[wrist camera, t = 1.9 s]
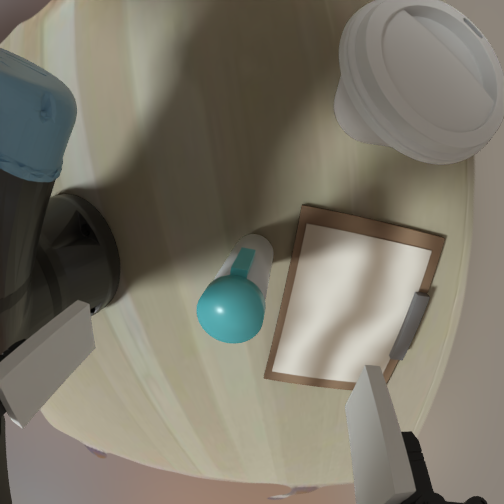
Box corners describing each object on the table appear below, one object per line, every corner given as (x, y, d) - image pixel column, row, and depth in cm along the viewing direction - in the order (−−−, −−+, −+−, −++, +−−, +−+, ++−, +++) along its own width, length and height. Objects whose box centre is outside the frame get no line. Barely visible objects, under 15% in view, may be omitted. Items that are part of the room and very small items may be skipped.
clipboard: (264, 375, 33) (262, 384, 31) (301, 204, 26) (302, 207, 25) (380, 389, 32) (383, 397, 30) (442, 237, 25) (449, 241, 24)
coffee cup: (430, 137, 23) (537, 131, 9) (348, 177, 25) (414, 201, 11) (382, 49, 21) (451, -27, 7) (296, 86, 23) (302, 7, 9)
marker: (232, 264, 29) (194, 335, 17) (238, 222, 28) (199, 272, 16) (271, 271, 29) (257, 348, 17) (279, 230, 27) (270, 286, 16)
